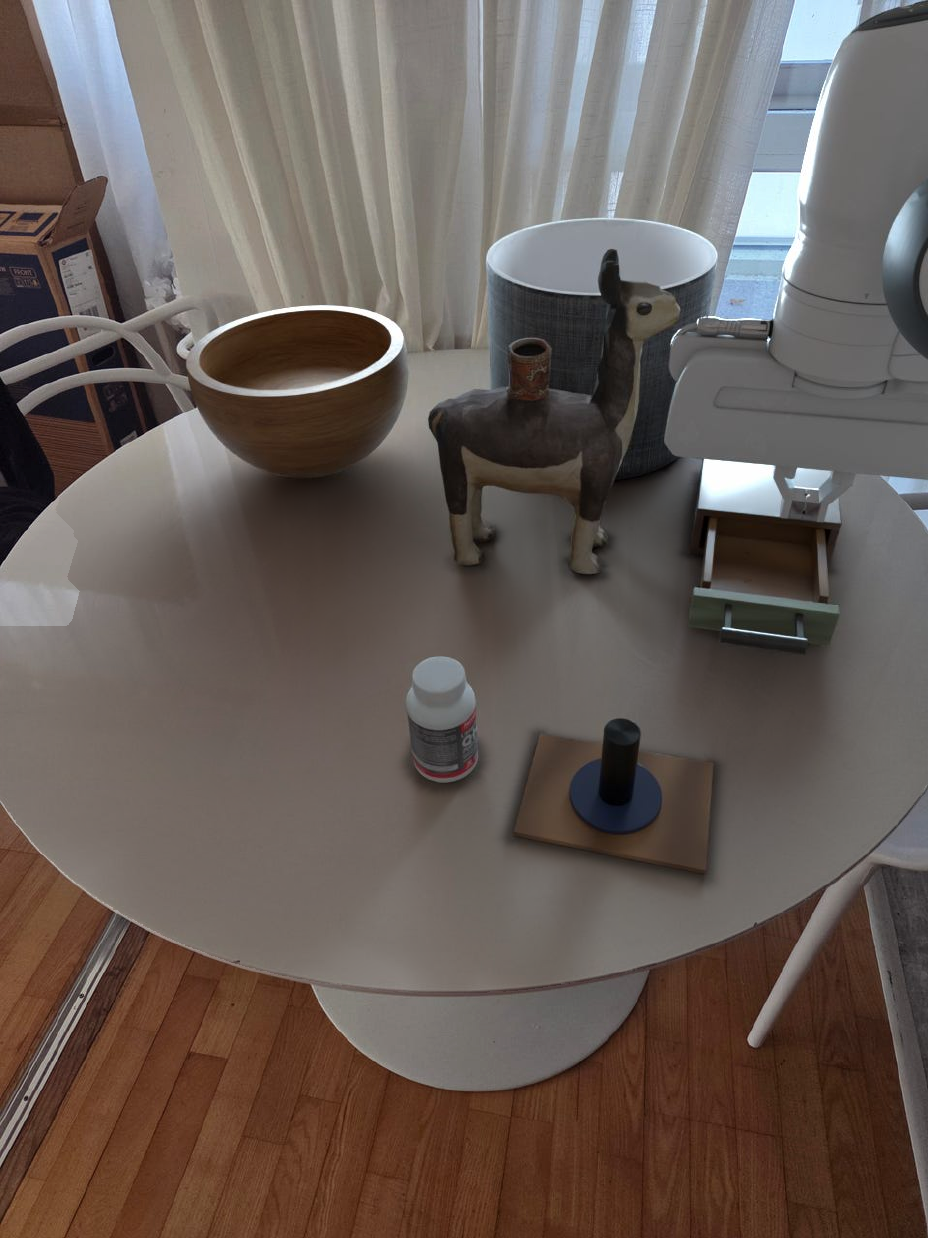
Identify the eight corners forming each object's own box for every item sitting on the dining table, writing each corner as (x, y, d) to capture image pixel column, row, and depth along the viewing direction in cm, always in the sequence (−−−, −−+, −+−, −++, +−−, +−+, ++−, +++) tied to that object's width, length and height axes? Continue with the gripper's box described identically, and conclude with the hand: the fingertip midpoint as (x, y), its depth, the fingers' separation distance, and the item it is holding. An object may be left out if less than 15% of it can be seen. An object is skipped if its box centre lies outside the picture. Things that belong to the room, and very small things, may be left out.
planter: (526, 376, 122) (527, 211, 108) (707, 399, 115) (733, 225, 100) (462, 465, 105) (451, 282, 90) (670, 499, 97) (695, 305, 83)
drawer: (831, 682, 73) (842, 650, 71) (683, 660, 76) (689, 629, 74) (823, 551, 87) (832, 520, 85) (698, 537, 90) (703, 506, 88)
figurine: (653, 584, 86) (691, 280, 66) (428, 572, 89) (401, 279, 69) (651, 525, 94) (684, 238, 74) (444, 516, 97) (424, 238, 77)
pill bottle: (480, 783, 68) (475, 697, 62) (413, 787, 68) (401, 702, 62) (477, 731, 72) (472, 646, 66) (413, 736, 72) (402, 651, 66)
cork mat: (712, 767, 68) (713, 762, 68) (705, 874, 61) (706, 870, 61) (539, 737, 71) (540, 733, 71) (513, 836, 64) (513, 832, 64)
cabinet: (828, 569, 86) (841, 523, 83) (690, 553, 89) (697, 508, 86) (822, 487, 98) (834, 443, 94) (699, 475, 101) (706, 432, 97)
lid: (665, 769, 68) (676, 704, 63) (656, 843, 63) (667, 778, 58) (577, 754, 69) (581, 689, 64) (562, 824, 64) (564, 760, 59)
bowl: (450, 481, 102) (442, 361, 92) (246, 543, 95) (213, 419, 85) (373, 398, 120) (359, 290, 110) (195, 445, 112) (163, 333, 102)
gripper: (669, 335, 52) (647, 524, 61) (1047, 358, 47) (963, 559, 56) (677, 296, 56) (656, 477, 65) (1023, 314, 52) (949, 507, 61)
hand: (801, 516), depth 61 cm, fingers closed
